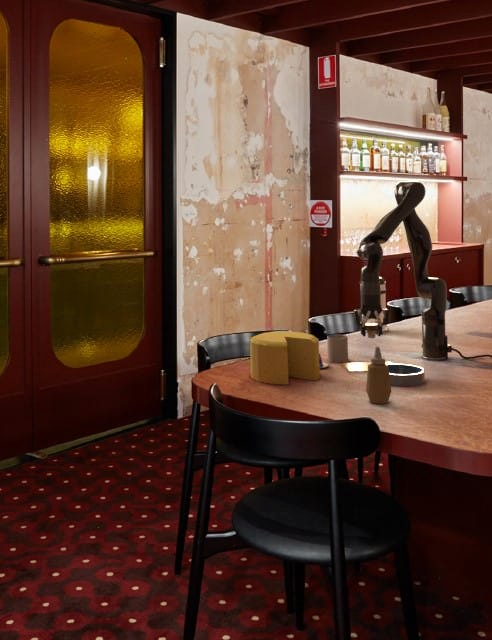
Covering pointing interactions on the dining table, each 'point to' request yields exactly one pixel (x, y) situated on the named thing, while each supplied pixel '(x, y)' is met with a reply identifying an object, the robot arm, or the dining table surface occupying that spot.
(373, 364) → the squeeze bottle
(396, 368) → the bowl
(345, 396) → the dining table surface
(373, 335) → the mushroom
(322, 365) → the pudding
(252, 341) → the cheese
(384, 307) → the coffee press
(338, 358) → the cup
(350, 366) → the board
